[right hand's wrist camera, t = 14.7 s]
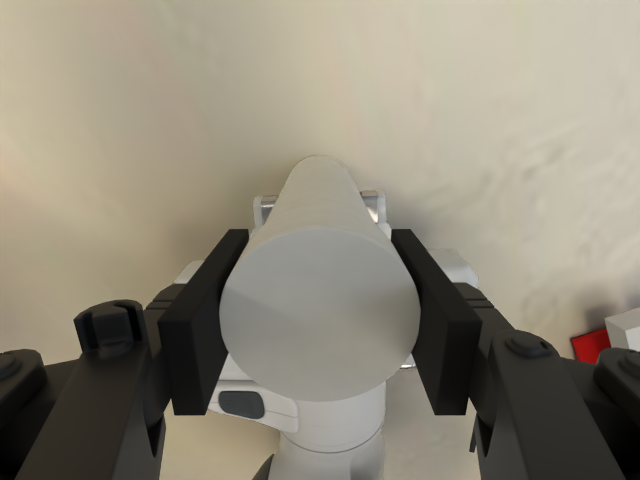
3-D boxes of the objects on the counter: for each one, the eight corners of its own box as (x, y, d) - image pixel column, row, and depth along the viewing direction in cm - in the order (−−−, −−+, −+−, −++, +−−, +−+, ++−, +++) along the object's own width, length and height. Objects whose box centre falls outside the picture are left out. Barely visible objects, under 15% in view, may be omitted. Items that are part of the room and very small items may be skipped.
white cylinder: (203, 260, 12) (175, 295, 10) (349, 170, 11) (356, 185, 8) (296, 376, 13) (291, 429, 11) (430, 307, 12) (454, 350, 10)
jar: (275, 173, 27) (196, 277, 10) (336, 143, 27) (367, 198, 9) (304, 230, 29) (281, 407, 12) (363, 204, 28) (433, 350, 11)
